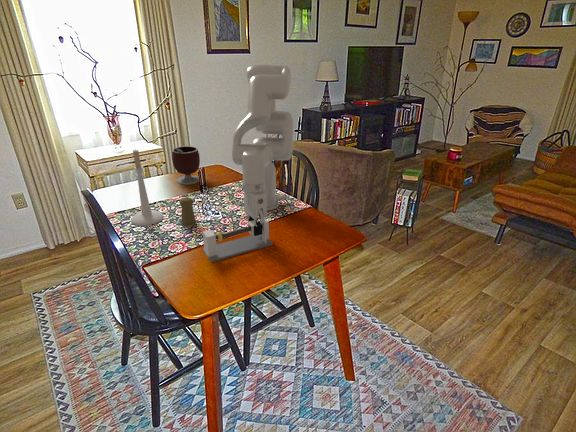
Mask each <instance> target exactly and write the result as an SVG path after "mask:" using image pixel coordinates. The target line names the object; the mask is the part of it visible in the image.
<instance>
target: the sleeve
mask: <svg viewBox="0 0 576 432" xmlns="http://www.w3.org/2000/svg"><path fill="white" fill-rule="evenodd" d="M258 221H260V219H259V220H257V222H258ZM250 226H251V229H252V231H248V232H247V233H249V234H250V236H251V235H252V236H254V226H255V223H254V220H253V221H249V222H248V221H247V227H250Z"/></svg>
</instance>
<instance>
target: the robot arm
mask: <svg viewBox="0 0 576 432" xmlns="http://www.w3.org/2000/svg"><path fill="white" fill-rule="evenodd" d="M246 78H247V81H248V93H247V95H248V96H247V111H246V116H245V117H244V119H242V120H241V122H240V123H239V124H238V126H237V127H236V129H235V131H234V133H233V137H232V138H233V139H232V147H231V148H232V149H231V158H232V161H233V163H234V164H235V165H238V166H241V167H242V169H241V170H242V191H243V207H244V211H245V212H246V214H247V215H246V219H247V223H248V222H249V221H253V220H254V223H255V226H254V236H258V235H261V234H262V225H263V223H265V219H267V217H268V212H269V211H273V210H277V208H279V206H280V202H279V201H280V200H284V199H286V196H285V194H282V195H280V193H276V192H277V188H276V187H277V185H276V184H277V171H276V165H274V163H273V162H272V161H289V160H291V159H292V157H293V146H294V145H293V143H294V142H293V141H294V140H293V139H294V138H293V137H294V136H293V135H294V120H293V119H294V118H293V116H292V113H290V112H289V111H284V110H277V109H276V100H286V99H287V98H288V96H289V93H290V88H291V87H290V86H291V81H292V72H291V69H290V68H289V66H287V65H281V64H254V65H250V66H249V67H247V69H246ZM252 129H255V130H256V132H257V133H259V134H262V135H280V136H281V137H274V136H273V137H271V136H269V137H268V136H261V137H256V138H254V140H252V141H251V142H252V143H251V144H248V143H242V140H243V137H244V136H245V134H246V133H247V132H249V131H250V130H252ZM257 220H259V221H258V222H257Z"/></svg>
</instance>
